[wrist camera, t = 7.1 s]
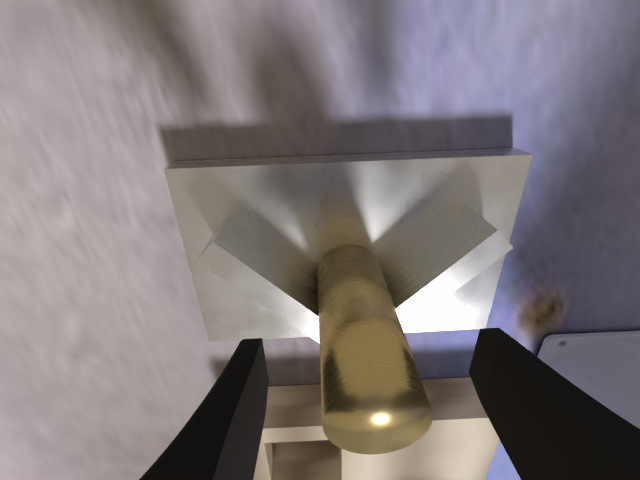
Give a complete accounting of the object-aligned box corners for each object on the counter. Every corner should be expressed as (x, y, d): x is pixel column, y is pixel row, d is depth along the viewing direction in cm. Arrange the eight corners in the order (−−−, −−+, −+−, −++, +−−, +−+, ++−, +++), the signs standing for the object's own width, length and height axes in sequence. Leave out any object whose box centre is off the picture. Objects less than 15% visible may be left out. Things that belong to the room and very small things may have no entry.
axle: (383, 244, 16) (444, 385, 8) (375, 296, 17) (421, 454, 10) (318, 243, 15) (324, 384, 8) (316, 296, 17) (320, 454, 10)
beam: (485, 376, 22) (508, 416, 20) (465, 442, 26) (482, 484, 23) (231, 388, 22) (221, 430, 20) (247, 453, 26) (240, 496, 23)
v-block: (513, 147, 15) (576, 169, 12) (473, 311, 20) (509, 363, 16) (177, 160, 15) (135, 187, 11) (215, 323, 19) (195, 378, 16)
